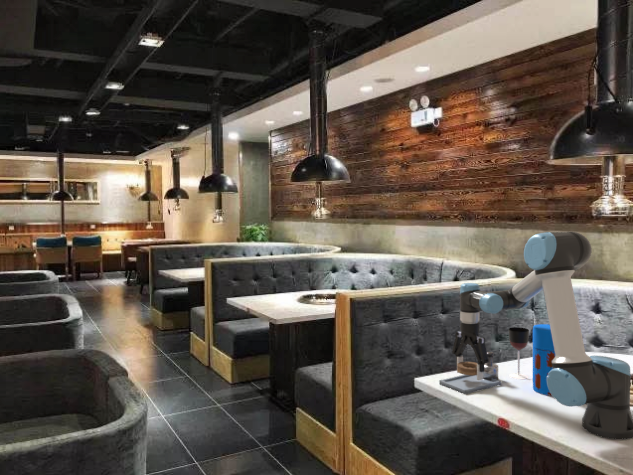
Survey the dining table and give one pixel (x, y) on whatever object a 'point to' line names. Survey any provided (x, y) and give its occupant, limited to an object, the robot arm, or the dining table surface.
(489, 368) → the metal peg stand
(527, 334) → the wineglass
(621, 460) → the dining table surface
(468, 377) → the tray
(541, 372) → the thermos
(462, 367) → the ring
